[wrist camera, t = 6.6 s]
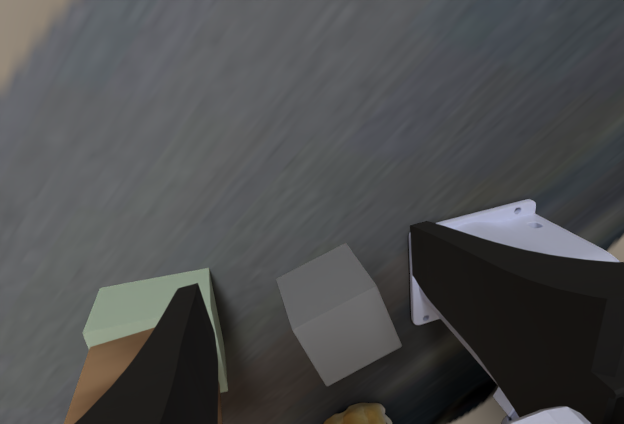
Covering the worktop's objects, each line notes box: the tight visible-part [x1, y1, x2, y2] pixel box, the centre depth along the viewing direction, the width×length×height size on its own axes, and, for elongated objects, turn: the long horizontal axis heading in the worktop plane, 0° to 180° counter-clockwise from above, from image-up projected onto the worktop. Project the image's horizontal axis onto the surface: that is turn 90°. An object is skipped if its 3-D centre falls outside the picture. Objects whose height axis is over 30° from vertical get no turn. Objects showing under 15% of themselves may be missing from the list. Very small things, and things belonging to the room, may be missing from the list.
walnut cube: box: [64, 327, 222, 424], centre depth 18 cm, size 5×5×5 cm
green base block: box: [83, 268, 228, 393], centre depth 22 cm, size 6×6×4 cm
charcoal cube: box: [276, 243, 402, 386], centre depth 24 cm, size 5×5×5 cm
